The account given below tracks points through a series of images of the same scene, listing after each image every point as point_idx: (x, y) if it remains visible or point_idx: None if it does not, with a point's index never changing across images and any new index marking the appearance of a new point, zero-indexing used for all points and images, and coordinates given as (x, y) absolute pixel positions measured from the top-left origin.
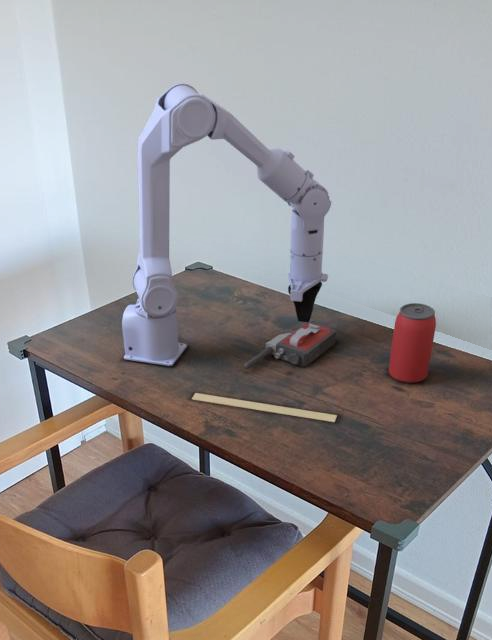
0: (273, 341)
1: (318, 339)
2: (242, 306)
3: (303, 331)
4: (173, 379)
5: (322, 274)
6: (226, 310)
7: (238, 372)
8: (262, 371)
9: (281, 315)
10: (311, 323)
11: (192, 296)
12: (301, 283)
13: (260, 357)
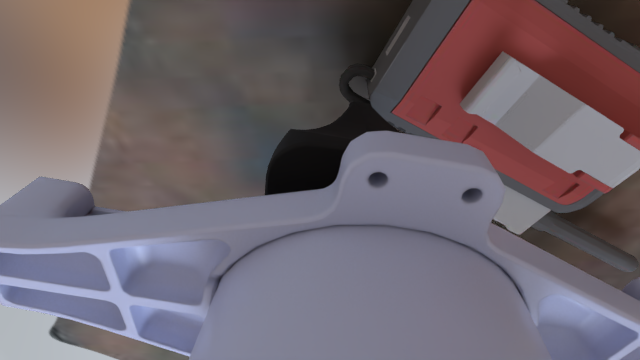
0: (515, 216)
1: (590, 50)
2: None
3: (578, 141)
4: None
5: (367, 218)
6: None
7: (605, 263)
8: (626, 212)
9: (231, 178)
10: (407, 94)
11: None
12: (556, 357)
13: (591, 236)
